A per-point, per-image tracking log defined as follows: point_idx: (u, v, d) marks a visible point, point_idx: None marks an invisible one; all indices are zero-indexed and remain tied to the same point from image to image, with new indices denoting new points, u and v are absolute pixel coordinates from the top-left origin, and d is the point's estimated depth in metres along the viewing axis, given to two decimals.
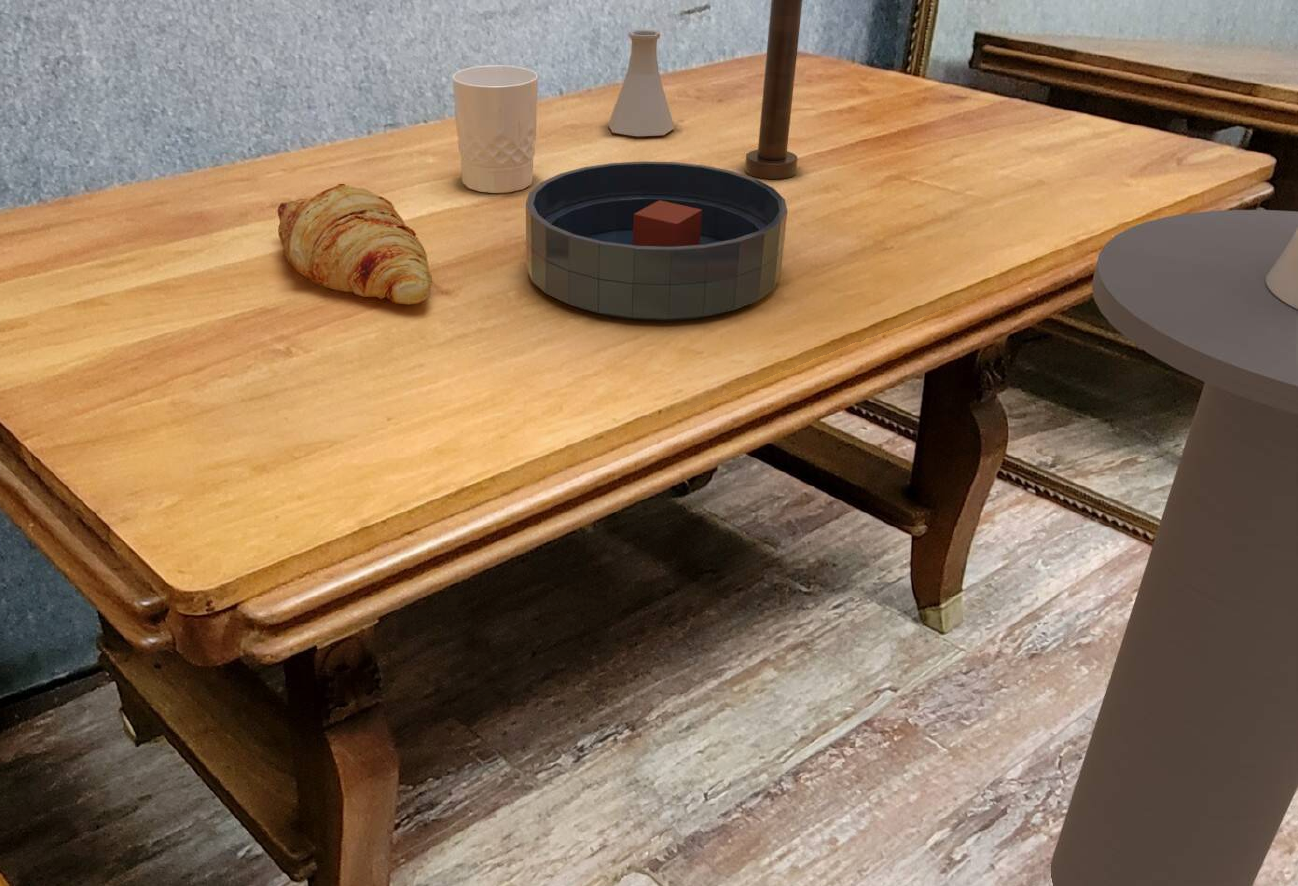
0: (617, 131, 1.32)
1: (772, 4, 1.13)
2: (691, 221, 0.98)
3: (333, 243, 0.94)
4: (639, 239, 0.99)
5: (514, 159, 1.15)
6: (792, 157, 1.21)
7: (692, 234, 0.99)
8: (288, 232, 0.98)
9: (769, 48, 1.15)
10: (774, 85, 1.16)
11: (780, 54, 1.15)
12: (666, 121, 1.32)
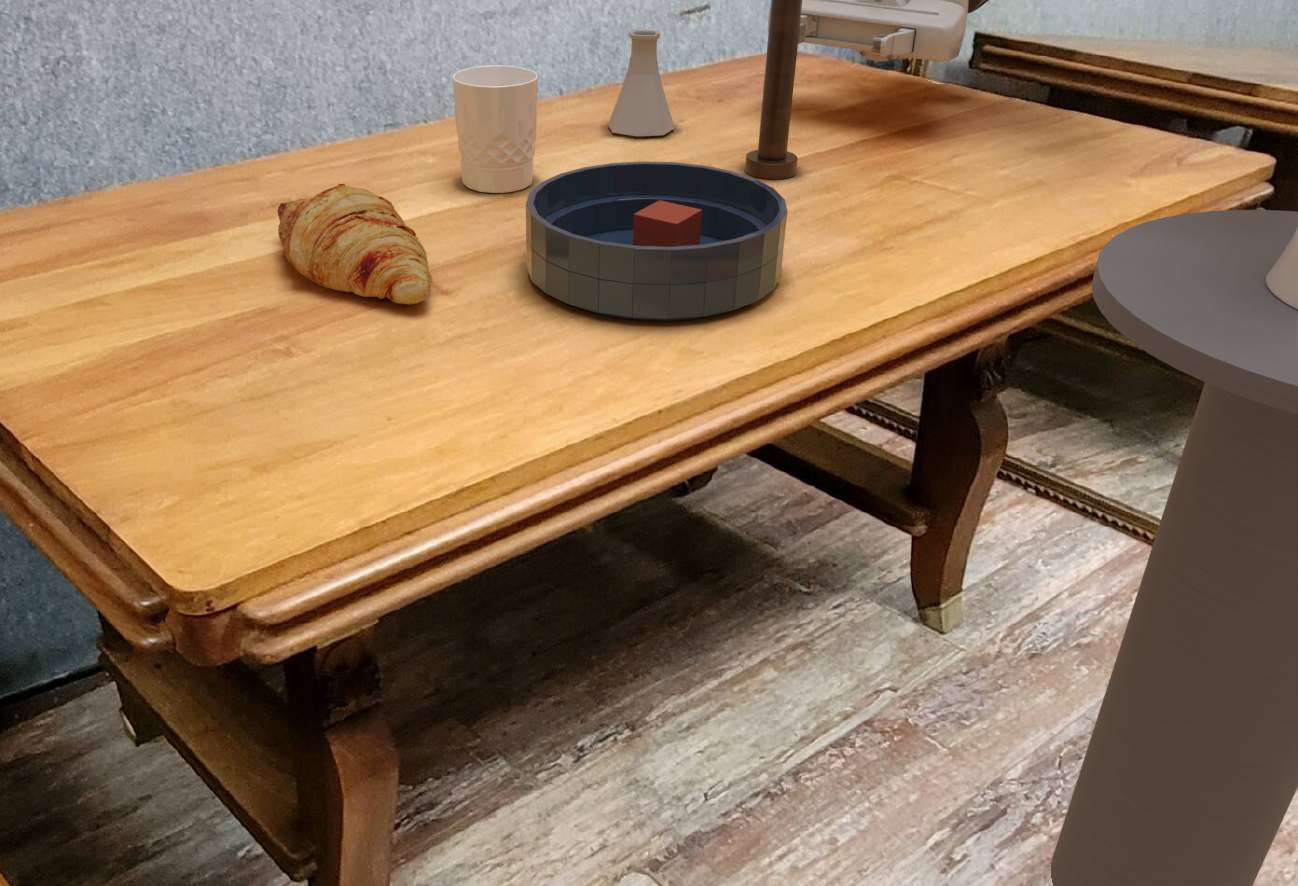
0: (617, 131, 1.32)
1: (772, 4, 1.13)
2: (691, 221, 0.98)
3: (333, 243, 0.94)
4: (639, 239, 0.99)
5: (514, 159, 1.15)
6: (792, 157, 1.21)
7: (692, 234, 0.99)
8: (288, 232, 0.98)
9: (769, 48, 1.15)
10: (774, 85, 1.16)
11: (780, 54, 1.15)
12: (666, 121, 1.32)
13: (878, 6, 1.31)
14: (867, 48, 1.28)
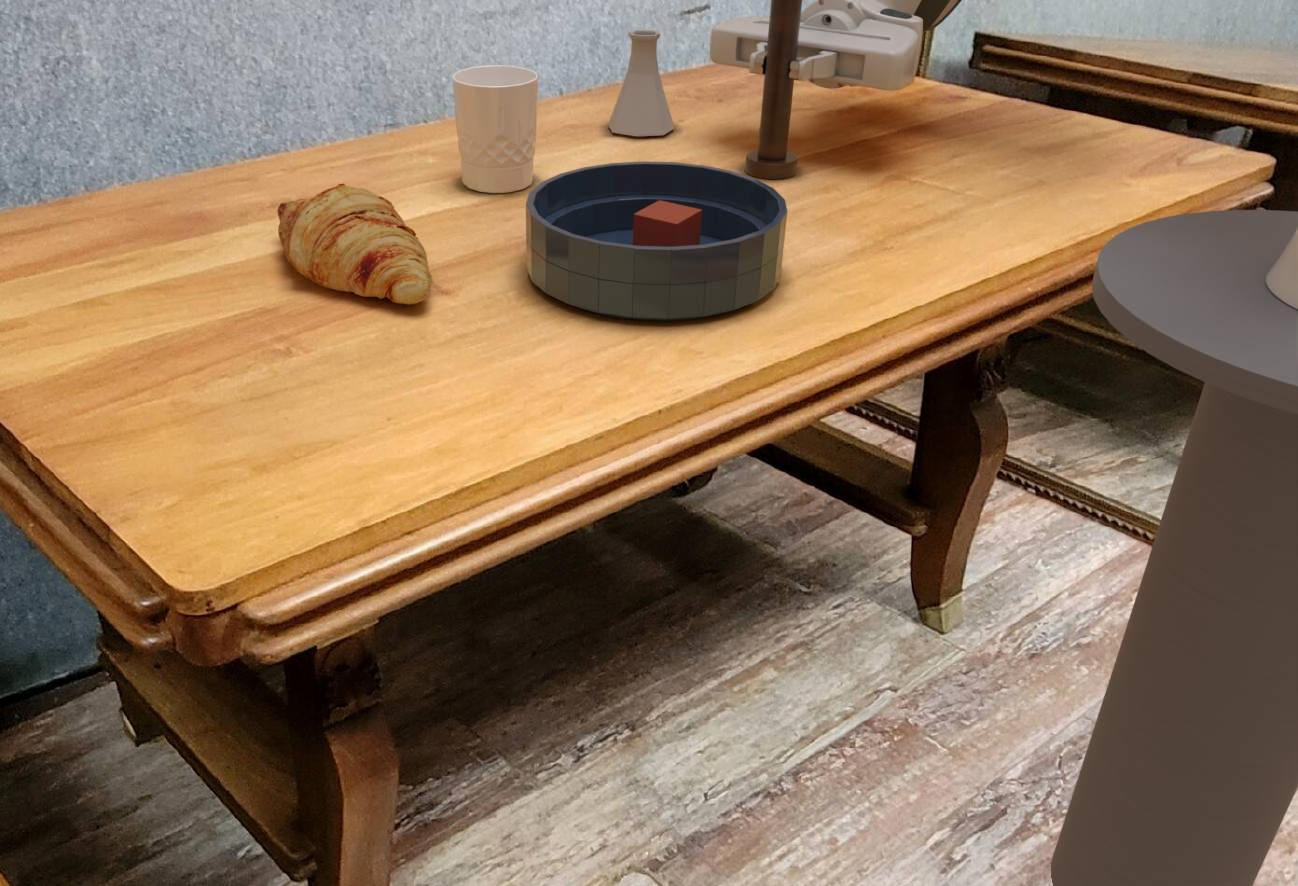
0: (617, 131, 1.32)
1: (772, 4, 1.13)
2: (691, 221, 0.98)
3: (333, 243, 0.94)
4: (639, 239, 0.99)
5: (514, 159, 1.15)
6: (792, 156, 1.21)
7: (692, 234, 0.99)
8: (288, 232, 0.98)
9: (769, 48, 1.15)
10: (774, 85, 1.16)
11: (780, 54, 1.15)
12: (666, 121, 1.32)
13: (827, 30, 1.22)
14: None
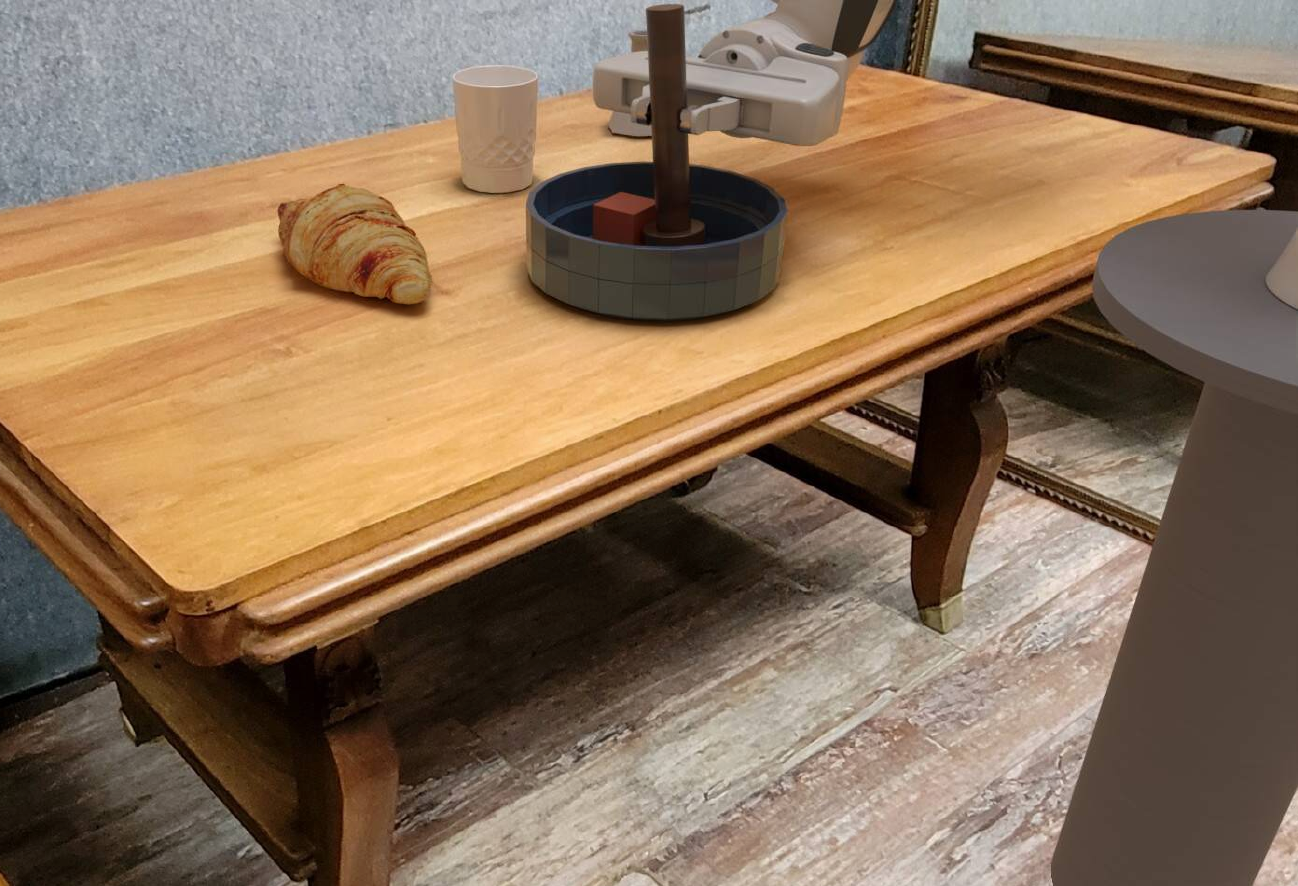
0: (617, 131, 1.32)
1: (648, 44, 0.92)
2: (649, 212, 1.00)
3: (333, 243, 0.94)
4: (599, 229, 1.01)
5: (514, 159, 1.15)
6: (699, 226, 0.99)
7: None
8: (288, 232, 0.98)
9: (651, 98, 0.94)
10: (663, 141, 0.94)
11: (665, 103, 0.93)
12: None
13: (731, 69, 1.00)
14: None
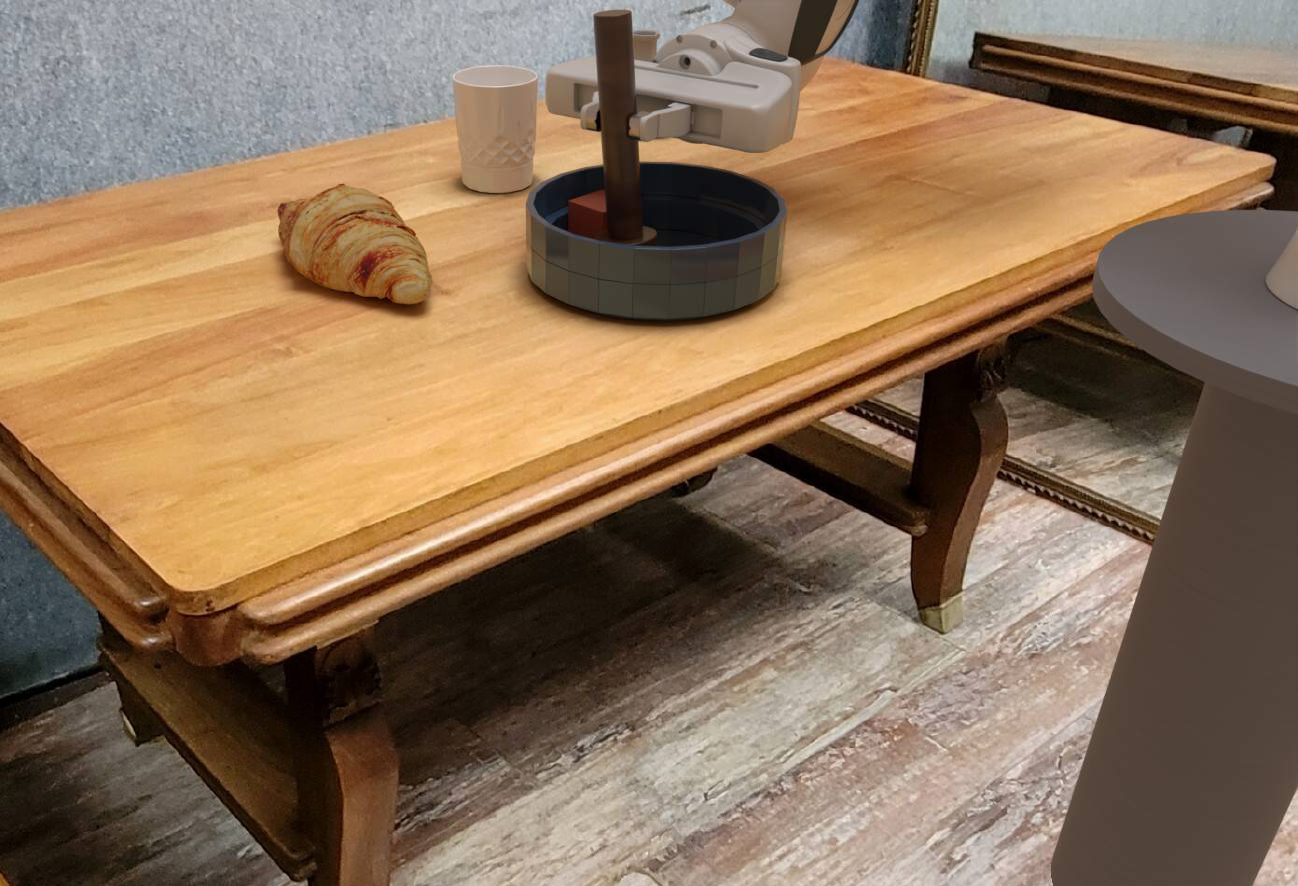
0: None
1: (596, 51, 0.91)
2: None
3: (333, 243, 0.94)
4: (573, 225, 1.02)
5: (514, 159, 1.15)
6: (651, 233, 0.98)
7: None
8: (288, 232, 0.98)
9: (600, 104, 0.92)
10: (612, 149, 0.93)
11: (613, 110, 0.92)
12: None
13: (685, 74, 0.99)
14: None
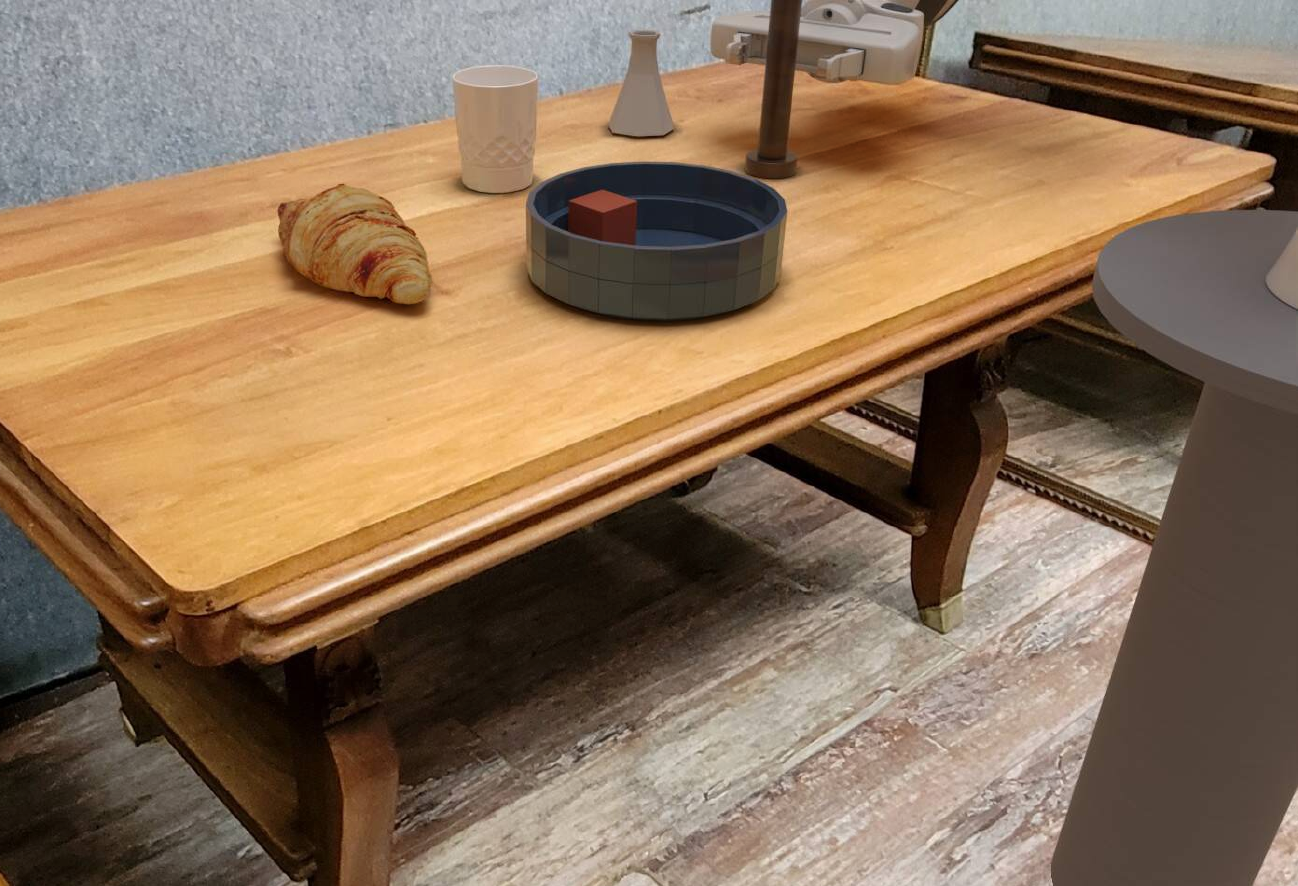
0: (617, 131, 1.32)
1: (772, 4, 1.13)
2: (622, 211, 1.00)
3: (333, 243, 0.94)
4: (573, 225, 1.02)
5: (514, 159, 1.15)
6: (792, 156, 1.21)
7: (625, 224, 1.01)
8: (288, 232, 0.98)
9: (769, 47, 1.15)
10: (773, 84, 1.16)
11: (779, 53, 1.15)
12: (666, 121, 1.32)
13: (827, 24, 1.21)
14: (814, 69, 1.19)
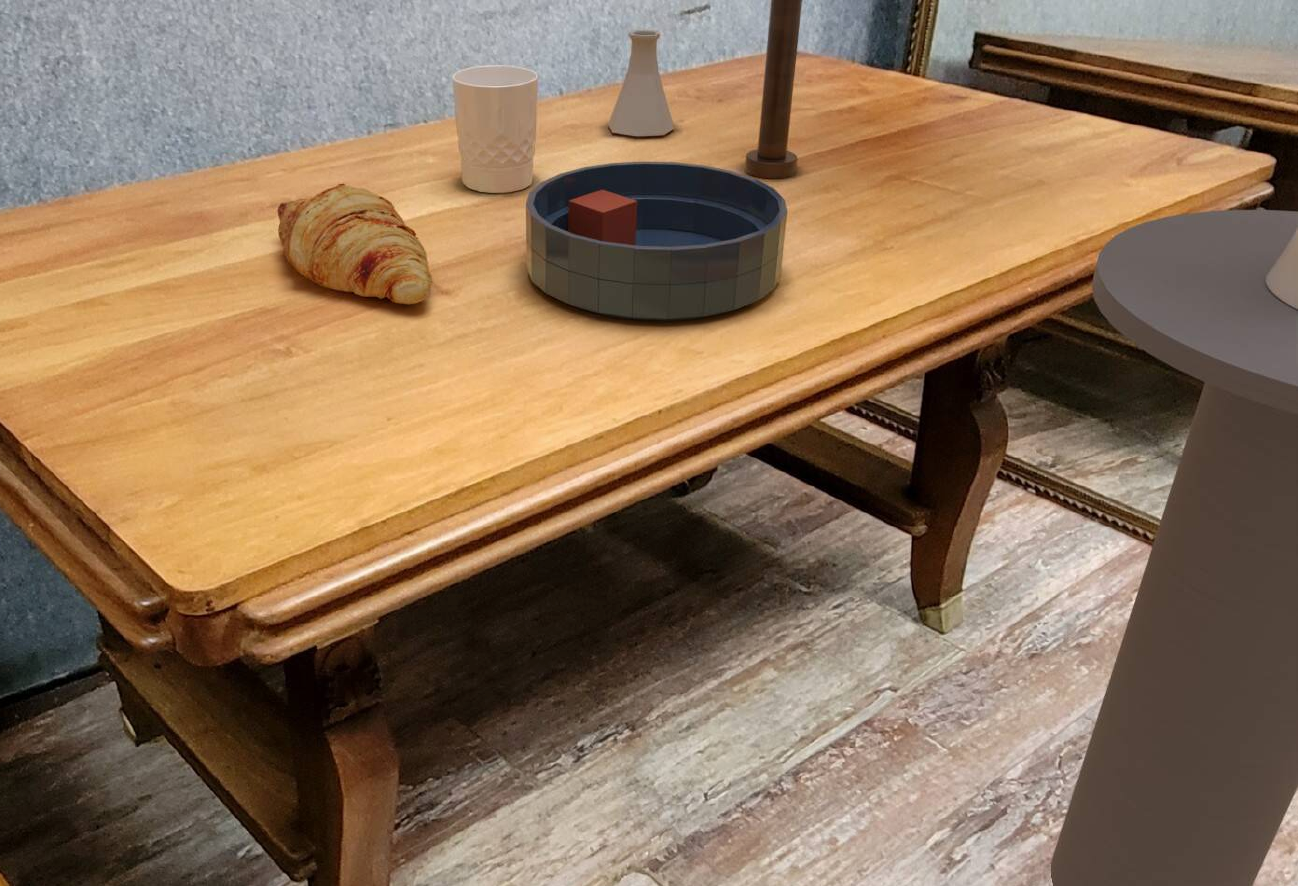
0: (617, 131, 1.32)
1: (772, 4, 1.13)
2: (622, 211, 1.00)
3: (333, 243, 0.94)
4: (573, 225, 1.02)
5: (514, 159, 1.15)
6: (792, 156, 1.21)
7: (625, 224, 1.01)
8: (288, 232, 0.98)
9: (769, 47, 1.15)
10: (773, 84, 1.16)
11: (779, 53, 1.15)
12: (666, 121, 1.32)
13: None
14: None
